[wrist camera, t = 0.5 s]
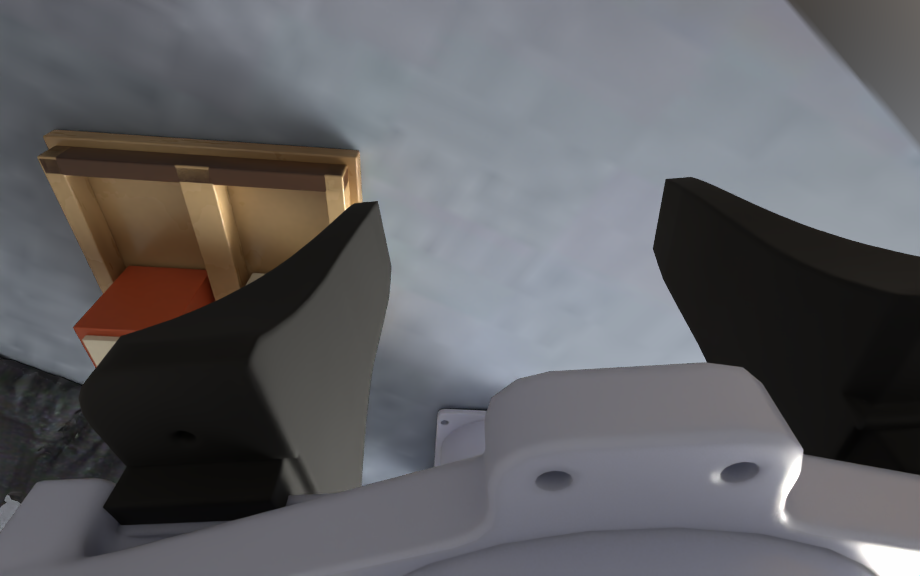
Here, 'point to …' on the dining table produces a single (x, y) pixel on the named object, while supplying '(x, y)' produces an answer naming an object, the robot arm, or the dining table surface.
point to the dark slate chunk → (46, 433)
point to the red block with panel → (141, 304)
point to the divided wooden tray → (195, 201)
